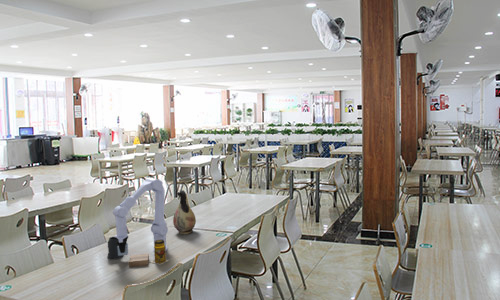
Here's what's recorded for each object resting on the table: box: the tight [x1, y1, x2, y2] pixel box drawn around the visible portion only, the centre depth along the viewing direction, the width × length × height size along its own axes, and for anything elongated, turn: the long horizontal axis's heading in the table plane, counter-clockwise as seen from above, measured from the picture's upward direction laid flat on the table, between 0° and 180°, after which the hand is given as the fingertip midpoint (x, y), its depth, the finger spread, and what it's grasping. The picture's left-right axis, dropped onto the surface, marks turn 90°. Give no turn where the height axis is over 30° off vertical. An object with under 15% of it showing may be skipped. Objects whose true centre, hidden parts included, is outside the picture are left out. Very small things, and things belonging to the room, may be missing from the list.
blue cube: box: [118, 243, 129, 256], centre depth 231 cm, size 5×5×5 cm
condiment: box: [150, 240, 170, 265], centre depth 228 cm, size 7×8×12 cm
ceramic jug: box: [172, 189, 197, 235], centre depth 281 cm, size 17×15×30 cm
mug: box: [106, 236, 125, 260], centre depth 240 cm, size 12×9×11 cm
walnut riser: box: [128, 253, 150, 268], centre depth 227 cm, size 10×10×3 cm
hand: (123, 251), depth 231 cm, fingers closed on blue cube, 5 cm apart
